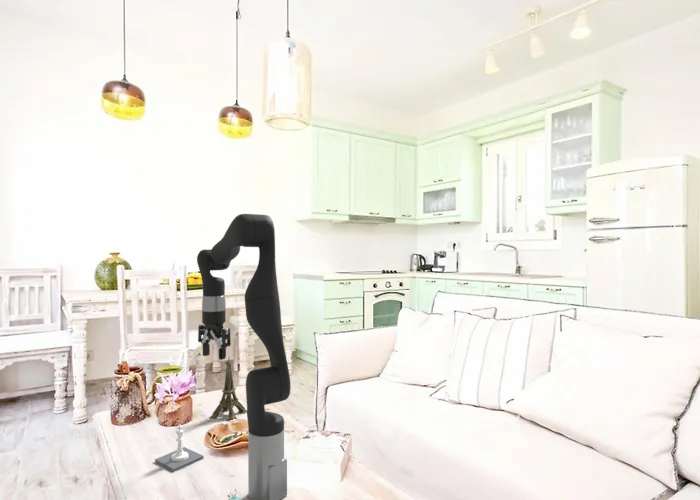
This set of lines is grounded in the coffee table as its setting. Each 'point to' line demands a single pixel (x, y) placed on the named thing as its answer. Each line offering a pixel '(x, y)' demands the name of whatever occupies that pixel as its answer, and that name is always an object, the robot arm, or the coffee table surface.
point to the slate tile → (178, 465)
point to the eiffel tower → (228, 397)
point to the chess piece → (179, 447)
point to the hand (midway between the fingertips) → (214, 357)
